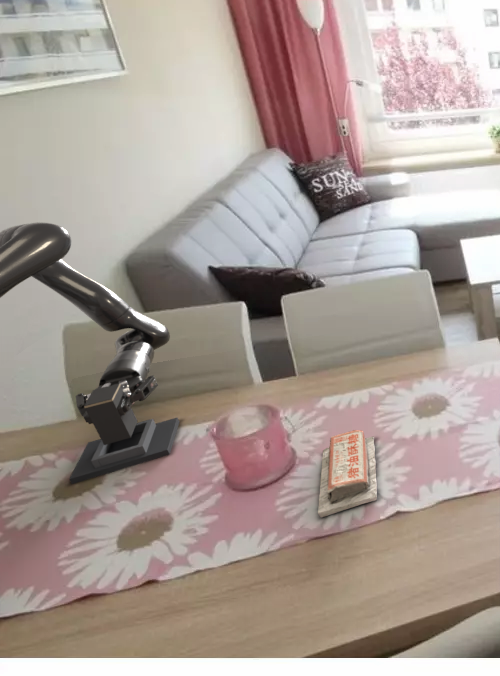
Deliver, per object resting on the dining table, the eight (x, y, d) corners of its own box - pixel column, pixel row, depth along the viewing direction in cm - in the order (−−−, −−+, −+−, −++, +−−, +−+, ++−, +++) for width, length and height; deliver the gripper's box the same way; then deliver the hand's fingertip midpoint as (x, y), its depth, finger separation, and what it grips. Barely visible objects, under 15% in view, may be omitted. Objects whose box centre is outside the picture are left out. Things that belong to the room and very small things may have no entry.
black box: (104, 445, 109) (83, 406, 105) (112, 428, 114) (92, 389, 110) (131, 437, 111) (111, 398, 107) (137, 420, 116) (119, 383, 112)
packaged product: (318, 436, 110) (370, 422, 113) (324, 454, 111) (374, 440, 115) (312, 500, 94) (373, 481, 98) (319, 520, 96) (378, 501, 100)
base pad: (72, 484, 106) (64, 471, 105) (90, 447, 116) (84, 435, 115) (169, 455, 113) (164, 442, 112) (179, 422, 123) (174, 410, 121)
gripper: (79, 368, 117) (50, 413, 103) (159, 349, 123) (142, 389, 109) (93, 396, 120) (67, 443, 106) (170, 376, 126) (155, 418, 112)
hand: (105, 415), depth 108 cm, fingers closed on black box, 4 cm apart
